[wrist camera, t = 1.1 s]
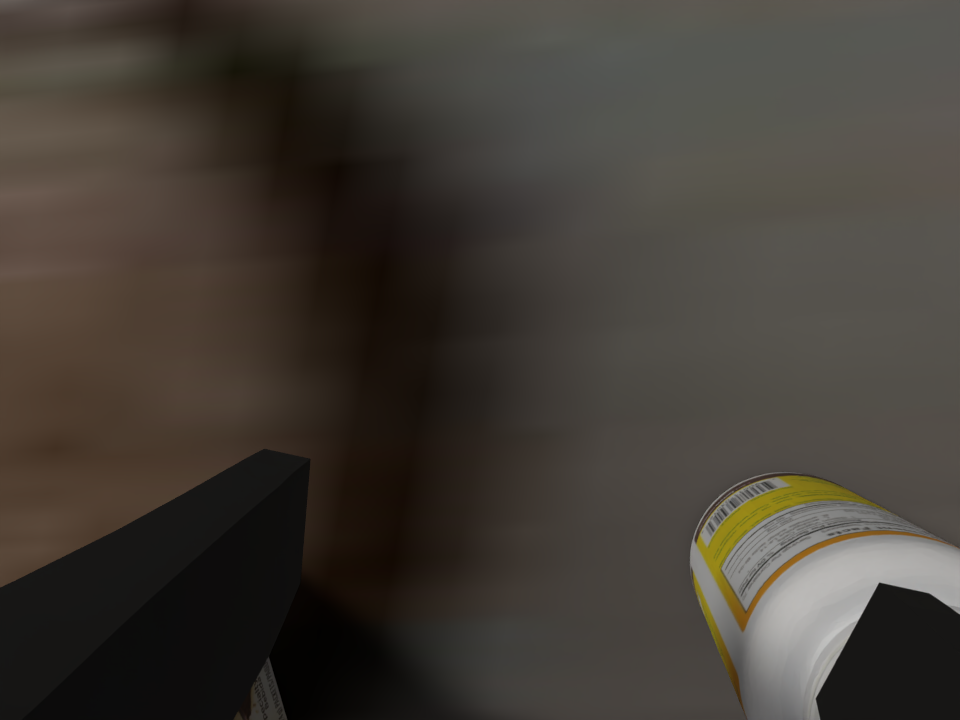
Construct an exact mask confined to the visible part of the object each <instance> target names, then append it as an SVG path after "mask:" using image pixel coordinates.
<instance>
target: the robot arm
mask: <svg viewBox="0 0 960 720" xmlns="http://www.w3.org/2000/svg"><path fill="white" fill-rule="evenodd" d="M309 470H310V459H309V458H304V457H299V456H295V455H290V454H286V453H281V452H276V451H272V450H267V449H263V450H261V451H259V452H257V453H255V454H253V455H252V456H250V457H248V458H246V459H244V460H242V461H241V462H239V463H237V464H235V465H233V466H232V467H230V468H228V469H226V470H225V471H223V472H221V473H219V474H218V475H216V476H214V477H212V478H211V479H209V480H207V481H205V482H204V483H202V484H200V485H198V486H196V487H195V488H193V489H191V490H189V491H188V492H186V493H184V494H182V495H180V496H179V497H177V498H175V499H173V500H171V501H169V502H168V503H166V504H164V505H162V506H160V507H159V508H157V509H155V510H153V511H151V512H149V513H148V514H146V515H144V516H142V517H140V518H138V519H137V520H135V521H133V522H131V523H129V524H127V525H126V526H124V527H122V528H120V529H118V530H116V531H114V532H112V533H110V534H108V535H106V536H104V537H102V538H100V539H98V540H96V541H94V542H92V543H90V544H88V545H86V546H84V547H82V548H80V549H78V550H76V551H74V552H72V553H70V554H68V555H66V556H64V557H62V558H60V559H58V560H56V561H54V562H52V563H50V564H48V565H46V566H44V567H42V568H40V569H38V570H36V571H34V572H32V573H30V574H28V575H26V576H24V577H22V578H20V579H18V580H16V581H14V582H12V583H9V584H7V585H5V586H3V587H1V588H0V720H234V718H235V716H236V714H237V712H238V711H239V709H240V707H241V705H242V704H243V702H244V700H245V698H246V696H247V695H248V693H249V691H250V689H251V688H252V686H253V684H254V682H255V681H256V679H257V677H258V675H259V673H260V672H261V670H262V668H263V666H264V664H265V663H266V661H267V659H268V657H269V655H270V653H271V650H272V648H273V646H274V644H275V641H276V639H277V637H278V635H279V632H280V630H281V628H282V625H283V623H284V621H285V618H286V616H287V614H288V611H289V609H290V606H291V604H292V602H293V599H294V597H295V594H296V592H297V590H298V587H299V585H300V581H301V569H302V556H303V544H304V532H305V519H306V507H307V495H308V482H309ZM816 703H817V707H818V712H819V716H820V720H960V614H959V613H957V612H956V611H954V610H953V609H952V608H950V607H949V606H947V605H946V604H944V603H943V602H942V601H940V600H939V599H937V598H936V597H934V596H933V595H931V594H930V593H926V592H921V591H917V590H912V589H907V588H903V587H898V586H893V585H889V584H884V583H880V582H879V584H878V586H877V587H876V589H875V591H874V593H873V595H872V597H871V598H870V600H869V602H868V604H867V606H866V607H865V609H864V611H863V613H862V615H861V617H860V618H859V620H858V622H857V624H856V626H855V628H854V629H853V631H852V633H851V635H850V637H849V638H848V640H847V642H846V644H845V646H844V648H843V649H842V651H841V653H840V655H839V657H838V659H837V660H836V662H835V664H834V666H833V668H832V669H831V671H830V673H829V675H828V677H827V679H826V680H825V682H824V684H823V686H822V688H821V690H820V691H819V693H818V695H817V697H816Z"/></svg>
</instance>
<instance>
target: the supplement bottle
mask: <svg viewBox="0 0 960 720" xmlns="http://www.w3.org/2000/svg"><path fill="white" fill-rule="evenodd" d="M690 570H691V577H692V583H693V587H694V590H695V593H696V596H697V598H698V601H699V604H700V606H701V609H702V611H703V613H704V615H705V618H706V620H707V623H708V625H709V627H710V630H711V633H712V635H713V638H714V640H715V643H716V645H717V647H718V650H719V653H720V655H721V657H722V660H723V662H724V665H725V667H726V669H727V672H728V674H729V677H730V679H731V682H732V684H733V686H734V689H735V691H736V694H737V696H738V699H739V701H740V704H741V706H742V709H743V711H744V713H745V716H746V718H747V720H820V716H819V712H818V707H817V703H816V697H817V695H818V693H819V691H820V690H821V688H822V686H823V684H824V682H825V680H826V679H827V677H828V675H829V673H830V671H831V669H832V668H833V666H834V664H835V662H836V660H837V659H838V657H839V655H840V653H841V651H842V649H843V648H844V646H845V644H846V642H847V640H848V638H849V637H850V635H851V633H852V631H853V629H854V628H855V626H856V624H857V622H858V620H859V618H860V617H861V615H862V613H863V611H864V609H865V607H866V606H867V604H868V602H869V600H870V598H871V597H872V595H873V593H874V591H875V589H876V587H877V586H878V584H879V582H880V583H884V584H889V585H893V586H898V587H903V588H907V589H912V590H917V591H921V592H926V593H930V594H931V595H933V596H934V597H936V598H937V599H939V600H940V601H942V602H943V603H944V604H946V605H947V606H949V607H950V608H952V609H953V610H954V611H956V612H957V613H959V614H960V548H958V547H956V546H954V545H952V544H951V543H948V542H946V541H944V540H942V539H941V538H939V537H937V536H935V535H933V534H931V533H929V532H927V531H925V530H923V529H921V528H919V527H918V526H916V525H914V524H912V523H910V522H908V521H906V520H904V519H902V518H901V517H899V516H897V515H895V514H893V513H891V512H889V511H887V510H885V509H884V508H882V507H880V506H878V505H876V504H874V503H872V502H870V501H868V500H866V499H864V498H862V497H860V496H858V495H857V494H855V493H853V492H851V491H849V490H847V489H845V488H844V487H842V486H840V485H838V484H836V483H833V482H831V481H828V480H825V479H822V478H819V477H816V476H812V475H808V474H802V473H792V472H779V473H769V474H763V475H759V476H756V477H752V478H750V479H747V480H744V481H742V482H740V483H738V484H736V485H735V486H733V487H731V488H729V489H728V490H727V491H725V492H724V493H723V494H721V495H720V496H719V497H718V498H717V499H716V500H715V501H714V502H713V503H712V504H711V506H710V507H709V508H708V509H707V510H706V512H705V513H704V515H703V517H702V518H701V520H700V522H699V524H698V526H697V529H696V531H695V534H694V537H693V541H692V546H691V553H690Z"/></svg>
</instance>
